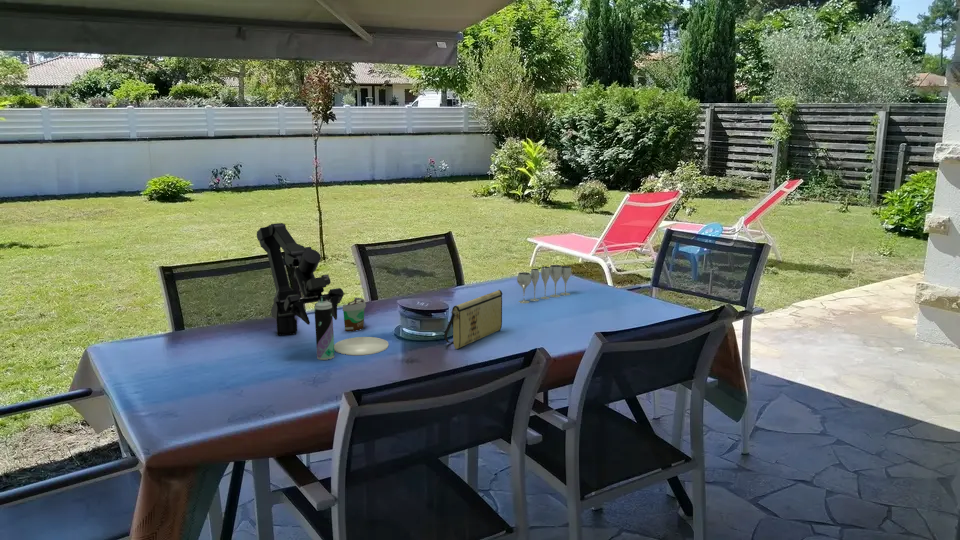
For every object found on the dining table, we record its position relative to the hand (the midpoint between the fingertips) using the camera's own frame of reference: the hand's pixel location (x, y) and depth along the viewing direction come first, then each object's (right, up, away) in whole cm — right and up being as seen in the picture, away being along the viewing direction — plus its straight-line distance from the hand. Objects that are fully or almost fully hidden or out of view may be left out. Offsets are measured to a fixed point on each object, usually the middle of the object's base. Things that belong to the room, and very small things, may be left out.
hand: (322, 321), depth 231 cm
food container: (+6, -5, +33) cm, 34 cm away
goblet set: (+77, +4, +76) cm, 108 cm away
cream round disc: (+10, -9, +12) cm, 18 cm away
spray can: (+1, -12, +2) cm, 12 cm away
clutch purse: (+47, -8, +21) cm, 52 cm away
